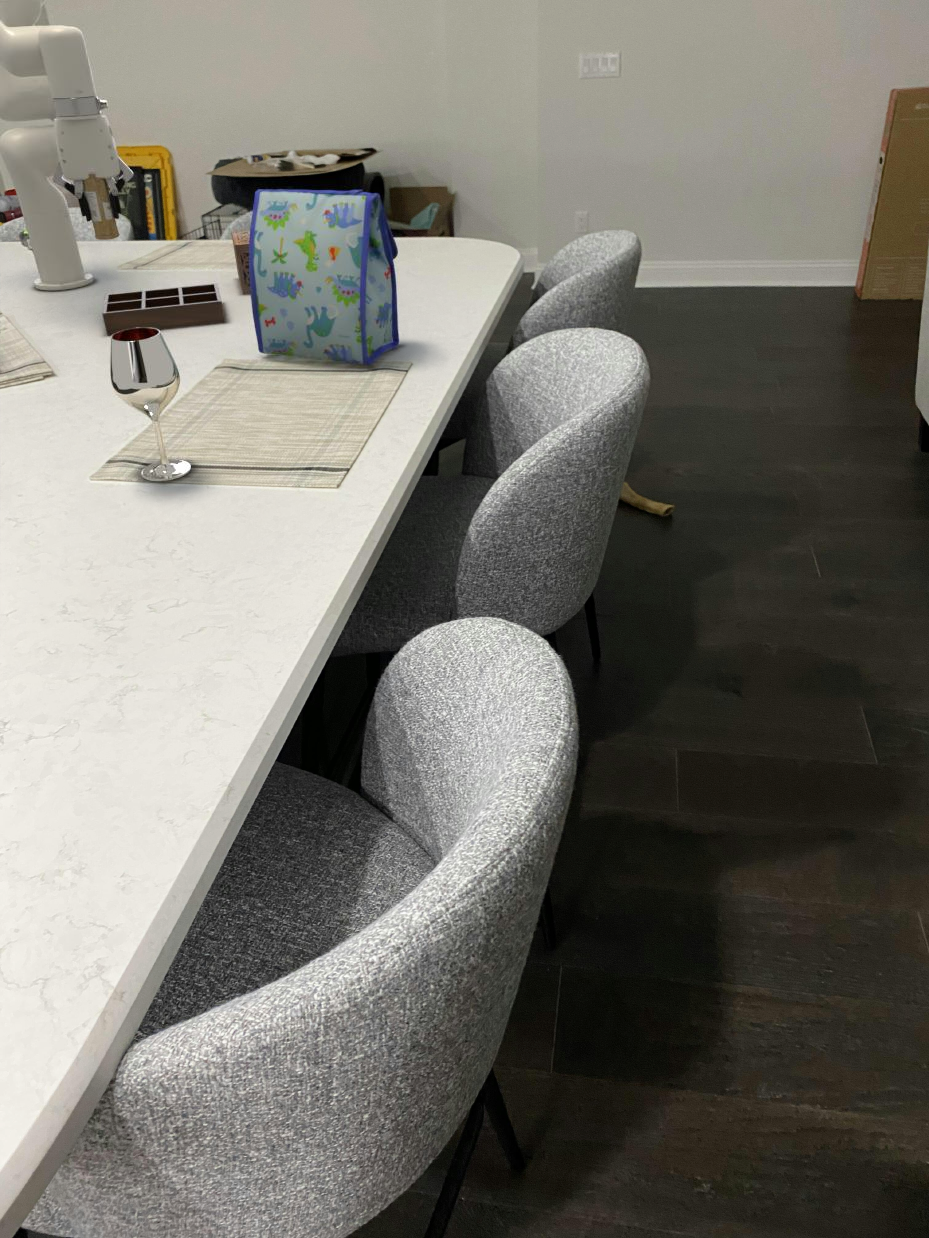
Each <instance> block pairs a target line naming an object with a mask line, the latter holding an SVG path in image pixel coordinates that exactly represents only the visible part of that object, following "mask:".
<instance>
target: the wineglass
mask: <svg viewBox="0 0 929 1238" xmlns="http://www.w3.org/2000/svg"><path fill="white" fill-rule="evenodd" d="M109 359H110V360H109V371H110V383H111V386H112V389H113V391H114V393H115V394H116V395H117V397H118V398H119V399H120V401H121V400H122V402H124V403H125V404H126V405H128V406H129V407H130V408H133V409H135V410H137V411H138V412H140V413H142V414H144V415H145V416H146V417H147V418H149V420H151V422H152V427H153V431H154V434H155V440H156V444H157V447H158V448H157V449H158V454H159V458H160V461H156V462H153V463H151V464H148V465H146V466H145V467H144V468H143V469H142V470H141V472H140V475H141V477H142V478H143V479H144V480H147V481H150V482H167V481H172V480H177V479H180V478H182V477H184V476H186V475H188V474H189V473H190V472H191V469H192V466H191V463H189V462H188V461H186V460H183V459H168V455H167V451H166V448H165V447H166V446H165V443H164V439H163V434H162V430H161V425H160V417H161V414H162V413H163V411H164V410H165V408H166V407H167V406H168V405H169V404H171V402H172V400H174V398H175V396H176V395H177V393H178V392H179V388H180V384H181V376H180V371H179V368H178V365H177V363H176V361H175V359H174V357H173V354H172V352H171V350H170V349H169V346H168V345H167V343H166V341H165V339H164V337H163V334H162V333H161V331H160V330H158V329H155V328H132V329H127V330H122V331H119V332H117V333H115V334H113V335H110V358H109Z"/></svg>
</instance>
